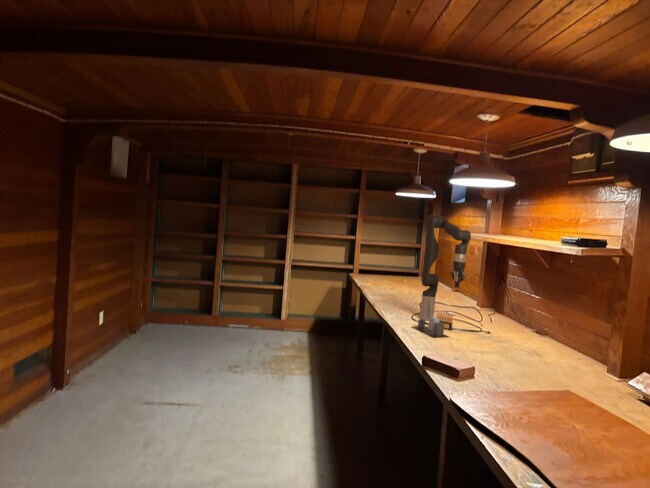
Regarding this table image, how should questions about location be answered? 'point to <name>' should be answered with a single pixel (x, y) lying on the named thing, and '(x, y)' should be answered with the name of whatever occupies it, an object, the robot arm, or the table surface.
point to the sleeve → (432, 322)
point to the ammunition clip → (446, 322)
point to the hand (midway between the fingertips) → (456, 287)
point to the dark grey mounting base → (434, 334)
